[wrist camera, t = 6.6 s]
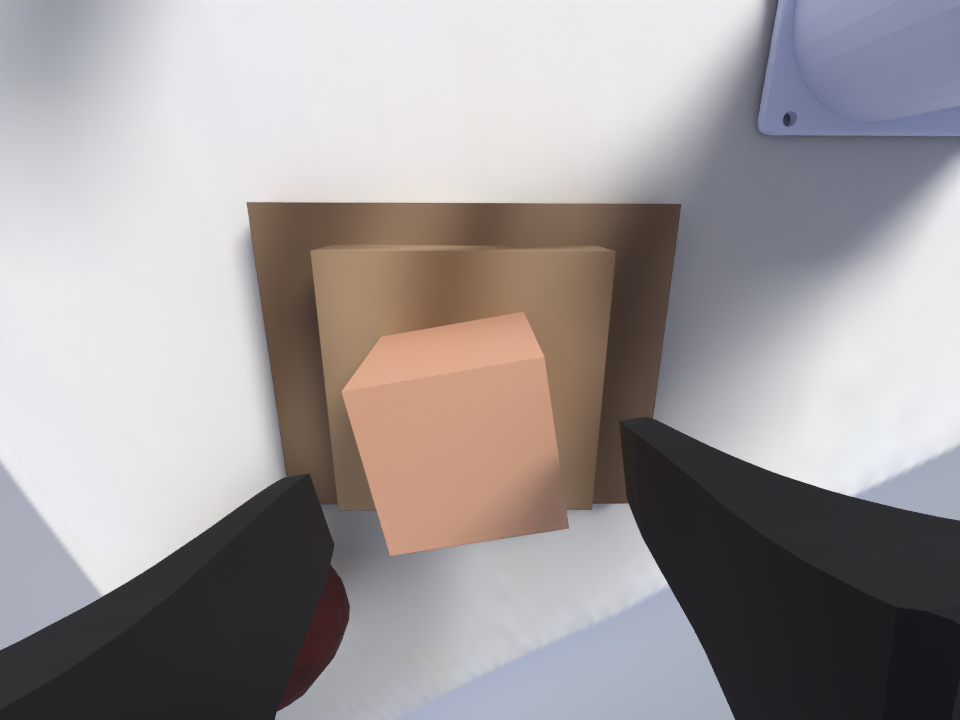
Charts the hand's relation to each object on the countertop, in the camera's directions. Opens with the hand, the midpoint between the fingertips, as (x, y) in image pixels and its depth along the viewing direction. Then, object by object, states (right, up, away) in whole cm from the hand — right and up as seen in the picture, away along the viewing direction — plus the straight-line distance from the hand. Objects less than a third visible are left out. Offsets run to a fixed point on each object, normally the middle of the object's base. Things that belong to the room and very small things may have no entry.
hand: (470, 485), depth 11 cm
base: (0, +3, +10) cm, 10 cm away
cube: (0, +2, +6) cm, 6 cm away
